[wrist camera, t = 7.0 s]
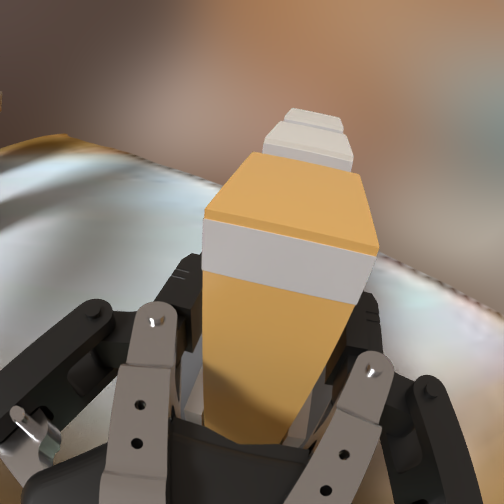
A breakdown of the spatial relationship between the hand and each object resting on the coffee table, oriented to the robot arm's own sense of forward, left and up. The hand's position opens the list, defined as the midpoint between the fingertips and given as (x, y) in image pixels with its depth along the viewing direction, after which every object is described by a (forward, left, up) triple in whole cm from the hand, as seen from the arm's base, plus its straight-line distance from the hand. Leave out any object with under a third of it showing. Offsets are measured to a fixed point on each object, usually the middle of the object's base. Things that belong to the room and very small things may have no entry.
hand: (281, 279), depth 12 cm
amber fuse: (0, -3, -7) cm, 7 cm away
